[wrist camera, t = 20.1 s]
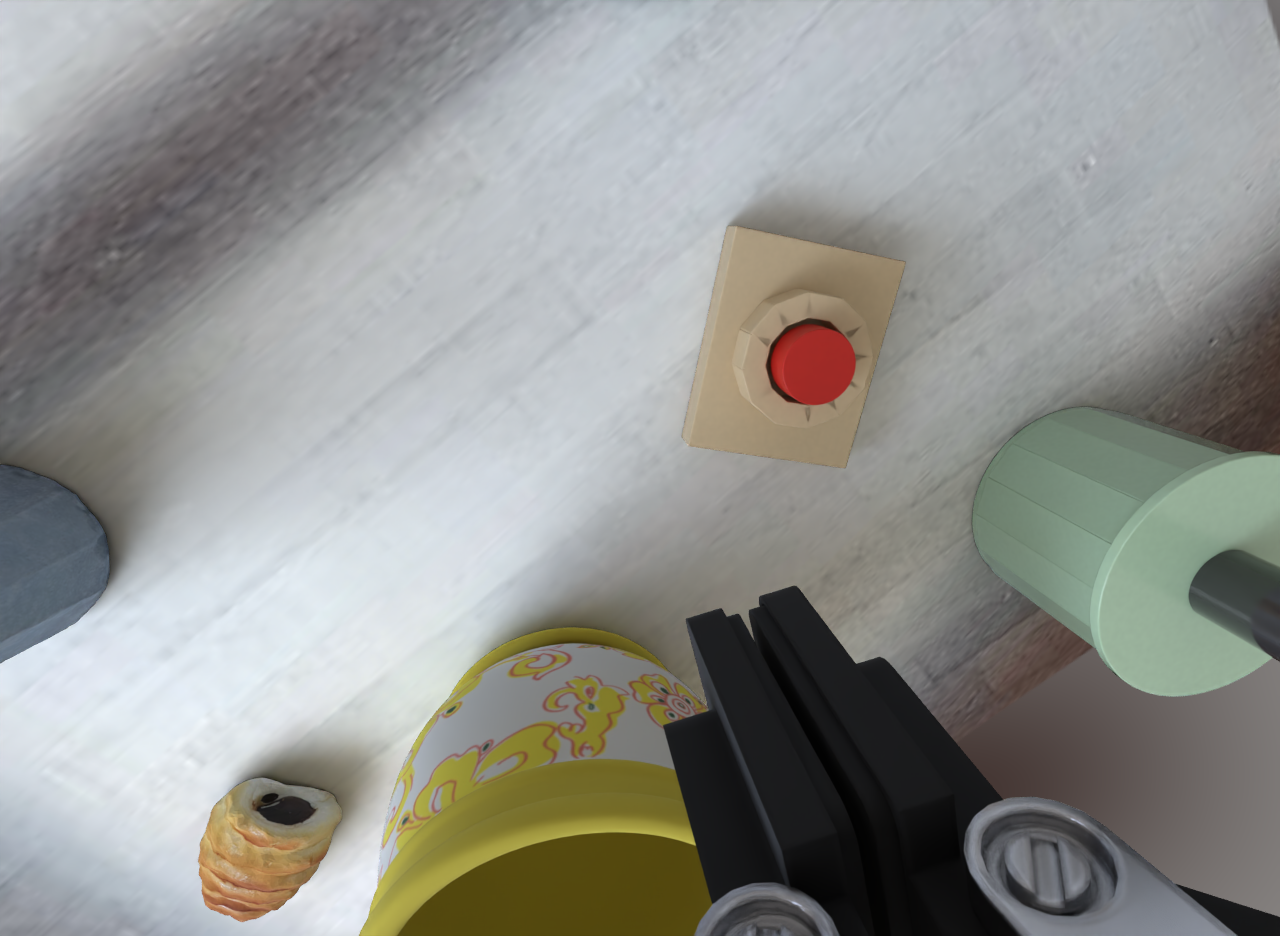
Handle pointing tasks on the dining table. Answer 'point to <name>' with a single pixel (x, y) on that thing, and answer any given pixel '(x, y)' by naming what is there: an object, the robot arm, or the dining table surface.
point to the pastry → (264, 845)
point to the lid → (1194, 580)
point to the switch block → (756, 320)
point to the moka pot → (45, 559)
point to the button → (813, 364)
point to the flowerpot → (545, 801)
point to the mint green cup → (1073, 500)
